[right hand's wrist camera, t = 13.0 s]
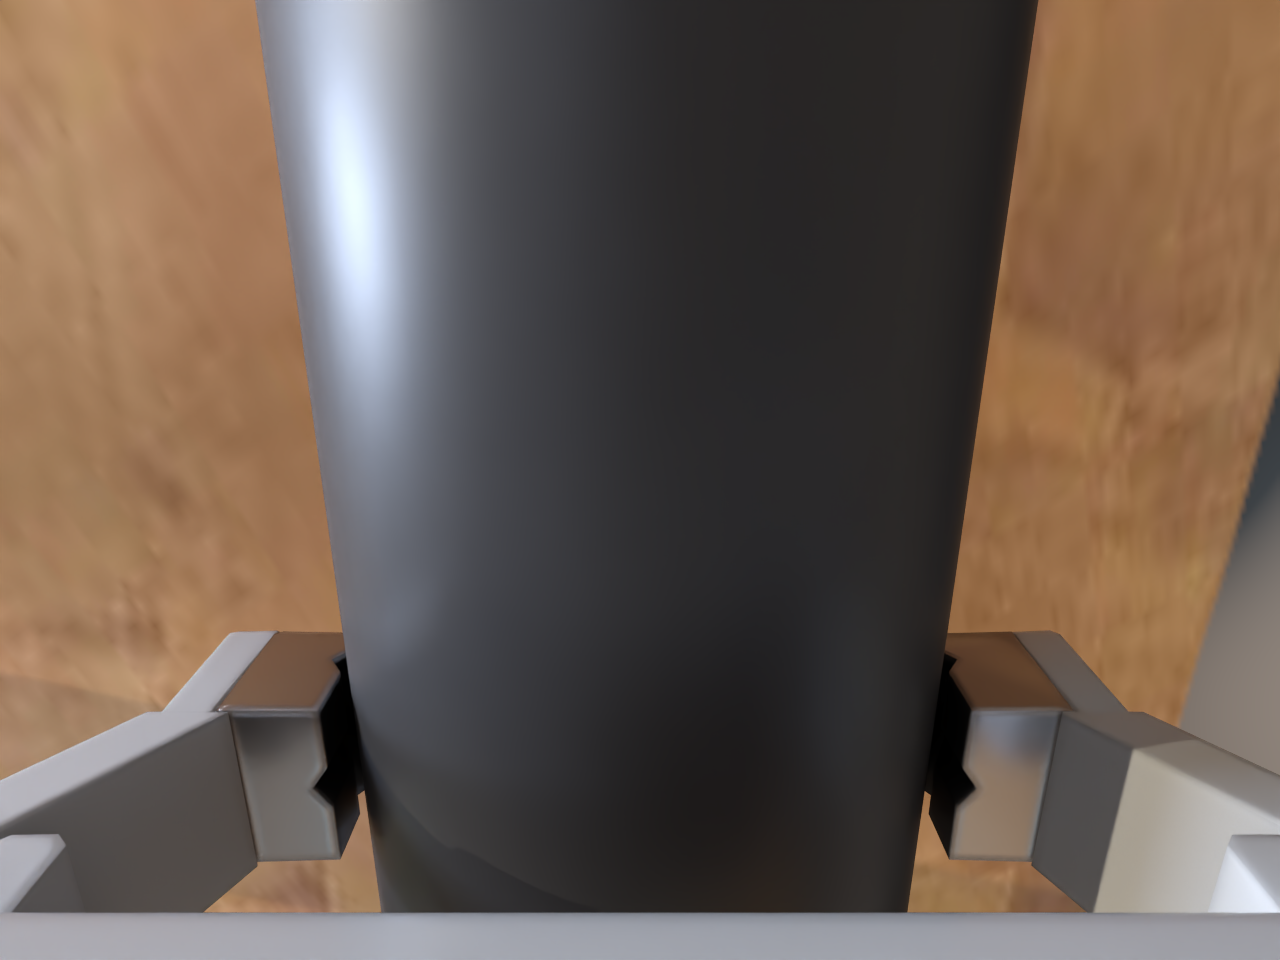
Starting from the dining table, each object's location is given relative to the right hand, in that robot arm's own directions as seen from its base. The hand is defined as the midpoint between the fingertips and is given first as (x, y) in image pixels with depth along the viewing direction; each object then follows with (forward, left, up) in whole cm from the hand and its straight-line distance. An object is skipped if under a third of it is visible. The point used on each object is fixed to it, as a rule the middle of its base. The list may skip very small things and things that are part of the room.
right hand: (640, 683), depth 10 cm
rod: (-5, +10, -3) cm, 11 cm away
